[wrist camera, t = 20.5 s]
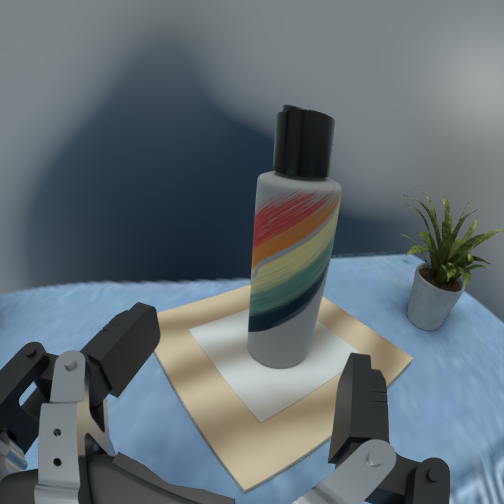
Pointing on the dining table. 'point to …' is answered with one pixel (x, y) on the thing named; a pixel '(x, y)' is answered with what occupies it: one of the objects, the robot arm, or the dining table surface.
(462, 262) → the house plant
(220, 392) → the dock
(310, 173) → the lotion bottle
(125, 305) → the dining table surface
